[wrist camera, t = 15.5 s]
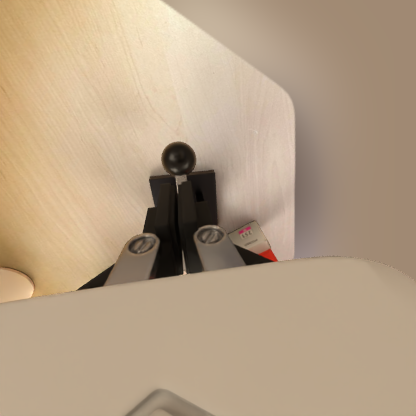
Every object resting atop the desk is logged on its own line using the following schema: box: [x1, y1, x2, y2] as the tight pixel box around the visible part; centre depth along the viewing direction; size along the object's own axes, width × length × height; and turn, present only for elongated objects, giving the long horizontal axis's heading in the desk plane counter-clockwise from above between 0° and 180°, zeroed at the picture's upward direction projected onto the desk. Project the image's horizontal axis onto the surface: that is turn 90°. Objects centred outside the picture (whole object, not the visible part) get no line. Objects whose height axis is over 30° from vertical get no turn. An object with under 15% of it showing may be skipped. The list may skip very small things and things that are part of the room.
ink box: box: [228, 221, 278, 262], centre depth 32 cm, size 2×11×10 cm, turn 119°
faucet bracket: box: [149, 170, 218, 226], centre depth 26 cm, size 10×9×13 cm
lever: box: [161, 142, 196, 271], centre depth 22 cm, size 13×4×4 cm, turn 4°
